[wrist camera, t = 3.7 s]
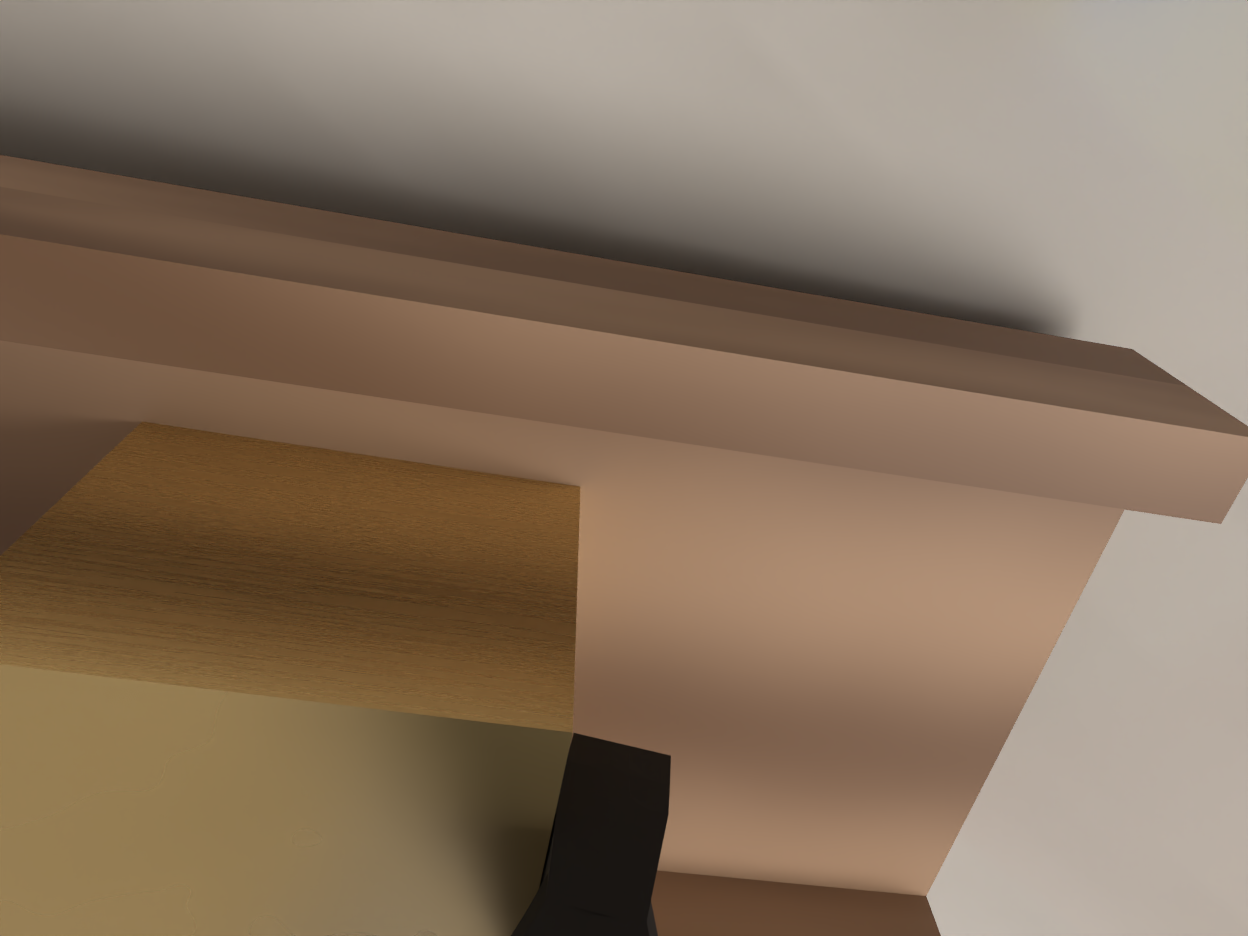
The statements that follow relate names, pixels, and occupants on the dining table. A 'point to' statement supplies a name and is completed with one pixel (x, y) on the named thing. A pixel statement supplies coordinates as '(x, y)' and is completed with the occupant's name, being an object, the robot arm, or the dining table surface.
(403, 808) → the wood grain cube
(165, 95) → the dining table surface
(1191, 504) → the beam
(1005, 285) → the dining table surface
